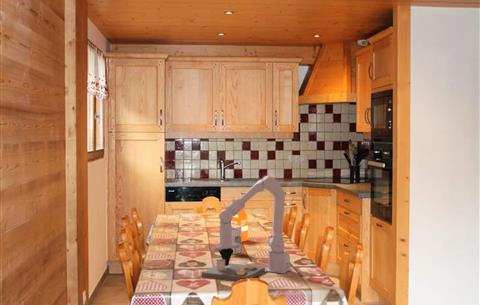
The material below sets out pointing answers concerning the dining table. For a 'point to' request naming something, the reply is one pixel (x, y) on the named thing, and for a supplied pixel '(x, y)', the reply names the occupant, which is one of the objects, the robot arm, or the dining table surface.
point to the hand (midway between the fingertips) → (226, 265)
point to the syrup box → (237, 238)
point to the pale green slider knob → (220, 264)
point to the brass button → (240, 272)
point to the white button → (250, 266)
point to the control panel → (232, 272)
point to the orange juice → (241, 223)
